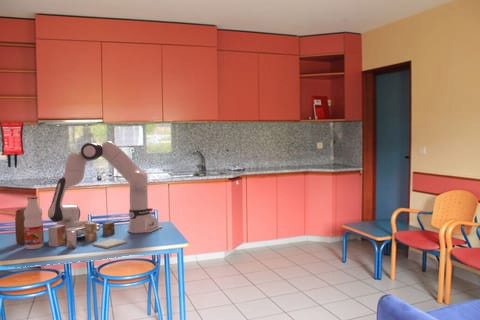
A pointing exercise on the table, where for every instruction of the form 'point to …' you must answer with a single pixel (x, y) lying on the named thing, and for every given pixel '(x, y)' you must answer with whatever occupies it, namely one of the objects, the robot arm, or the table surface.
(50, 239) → the small box
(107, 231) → the walnut block
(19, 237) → the block
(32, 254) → the table surface
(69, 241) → the metal can
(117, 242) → the beige flat square plate
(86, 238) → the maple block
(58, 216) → the robot arm
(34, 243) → the fruit juice
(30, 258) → the table surface
